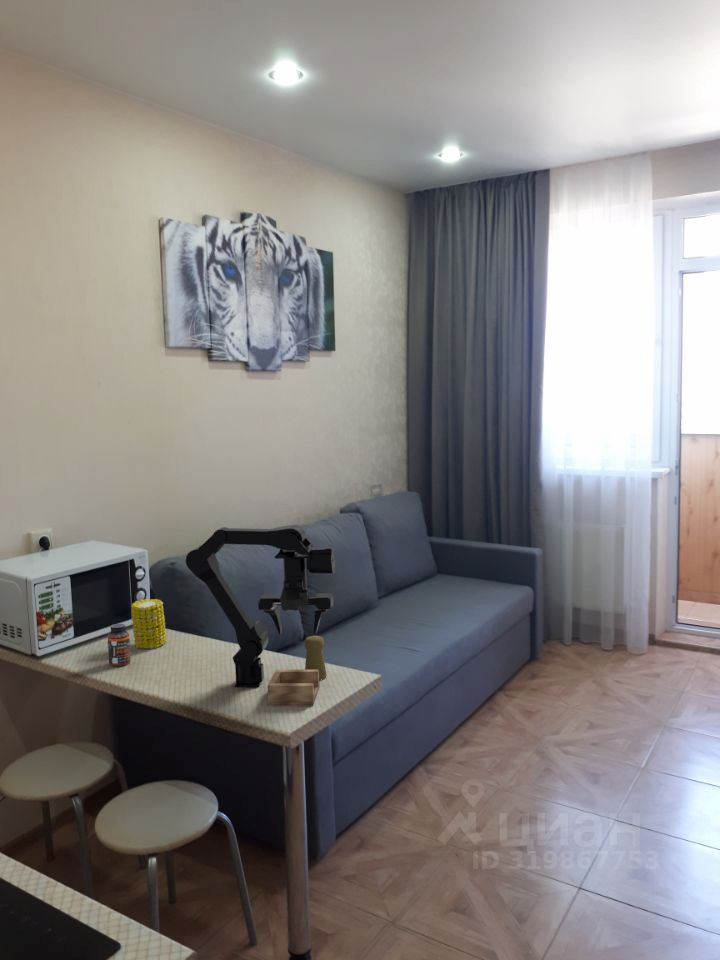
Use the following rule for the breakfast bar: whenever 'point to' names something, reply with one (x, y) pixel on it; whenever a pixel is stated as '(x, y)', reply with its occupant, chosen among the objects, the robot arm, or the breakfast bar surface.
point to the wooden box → (293, 687)
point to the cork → (315, 655)
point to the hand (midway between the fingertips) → (297, 634)
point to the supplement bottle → (119, 646)
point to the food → (148, 623)
